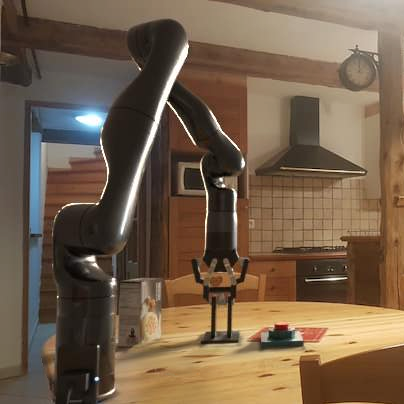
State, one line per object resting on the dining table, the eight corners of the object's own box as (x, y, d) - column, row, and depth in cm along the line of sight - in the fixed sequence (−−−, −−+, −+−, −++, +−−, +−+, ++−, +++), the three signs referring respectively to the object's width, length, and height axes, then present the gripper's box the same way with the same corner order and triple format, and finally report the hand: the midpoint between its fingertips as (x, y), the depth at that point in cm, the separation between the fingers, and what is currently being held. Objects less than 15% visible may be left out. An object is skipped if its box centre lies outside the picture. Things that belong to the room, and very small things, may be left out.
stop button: (289, 331, 129) (289, 324, 129) (274, 332, 128) (274, 324, 128) (288, 328, 132) (288, 321, 132) (274, 329, 132) (274, 322, 132)
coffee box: (139, 338, 136) (141, 277, 137) (161, 340, 135) (163, 277, 136) (116, 346, 127) (118, 280, 128) (140, 347, 126) (141, 281, 127)
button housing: (303, 349, 125) (303, 332, 125) (261, 351, 123) (261, 334, 123) (299, 339, 137) (299, 324, 137) (260, 340, 135) (261, 325, 135)
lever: (230, 293, 125) (230, 283, 126) (208, 293, 124) (209, 284, 125) (232, 308, 136) (232, 299, 137) (212, 308, 135) (212, 299, 136)
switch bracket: (238, 345, 129) (239, 297, 130) (200, 347, 127) (201, 298, 128) (240, 336, 141) (240, 292, 141) (205, 337, 139) (206, 292, 140)
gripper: (188, 230, 121) (187, 303, 121) (251, 230, 124) (250, 302, 123) (192, 230, 129) (191, 299, 128) (251, 230, 132) (250, 298, 131)
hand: (220, 300), depth 126 cm, fingers closed on lever, 5 cm apart
